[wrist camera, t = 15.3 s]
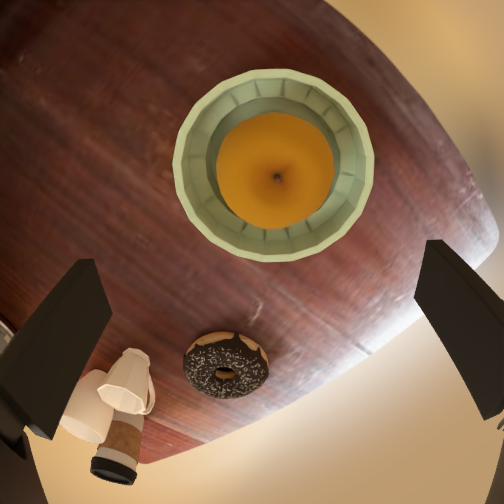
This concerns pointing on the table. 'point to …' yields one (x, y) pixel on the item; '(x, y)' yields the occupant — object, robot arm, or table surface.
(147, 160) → the table surface
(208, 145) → the serving bowl
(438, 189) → the table surface
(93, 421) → the mug
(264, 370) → the donut
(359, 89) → the table surface
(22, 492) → the robot arm
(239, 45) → the table surface
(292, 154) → the apple
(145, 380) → the cup
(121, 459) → the coffee cup
